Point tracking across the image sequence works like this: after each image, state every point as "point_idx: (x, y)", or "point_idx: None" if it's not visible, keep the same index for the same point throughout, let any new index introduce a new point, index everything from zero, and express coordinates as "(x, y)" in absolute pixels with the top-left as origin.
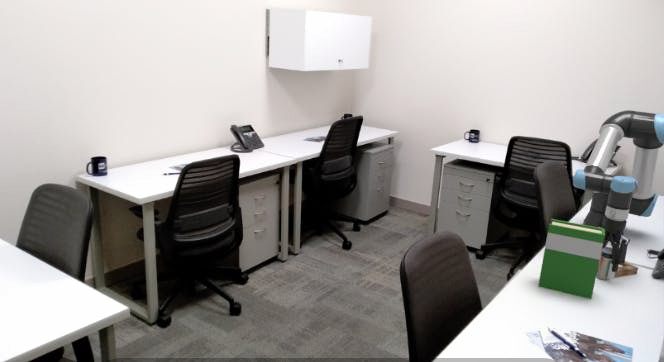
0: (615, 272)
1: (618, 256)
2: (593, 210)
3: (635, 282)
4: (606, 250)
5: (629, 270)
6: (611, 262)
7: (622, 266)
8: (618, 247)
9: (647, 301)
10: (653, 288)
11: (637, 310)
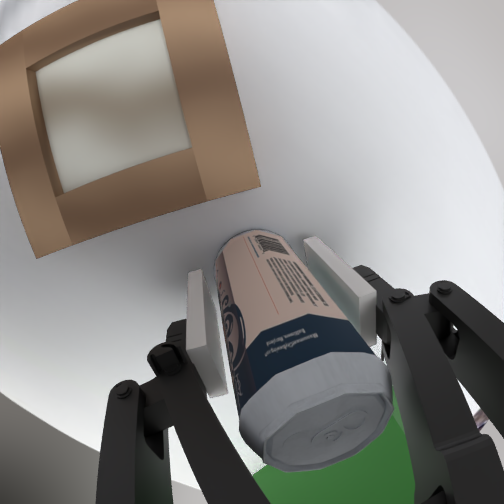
0: (257, 185)
1: (459, 375)
2: None
3: (324, 79)
4: (348, 454)
5: (221, 37)
6: (383, 359)
7: (122, 37)
8: (466, 422)
9: (477, 195)
10: (392, 41)
11: (492, 281)
